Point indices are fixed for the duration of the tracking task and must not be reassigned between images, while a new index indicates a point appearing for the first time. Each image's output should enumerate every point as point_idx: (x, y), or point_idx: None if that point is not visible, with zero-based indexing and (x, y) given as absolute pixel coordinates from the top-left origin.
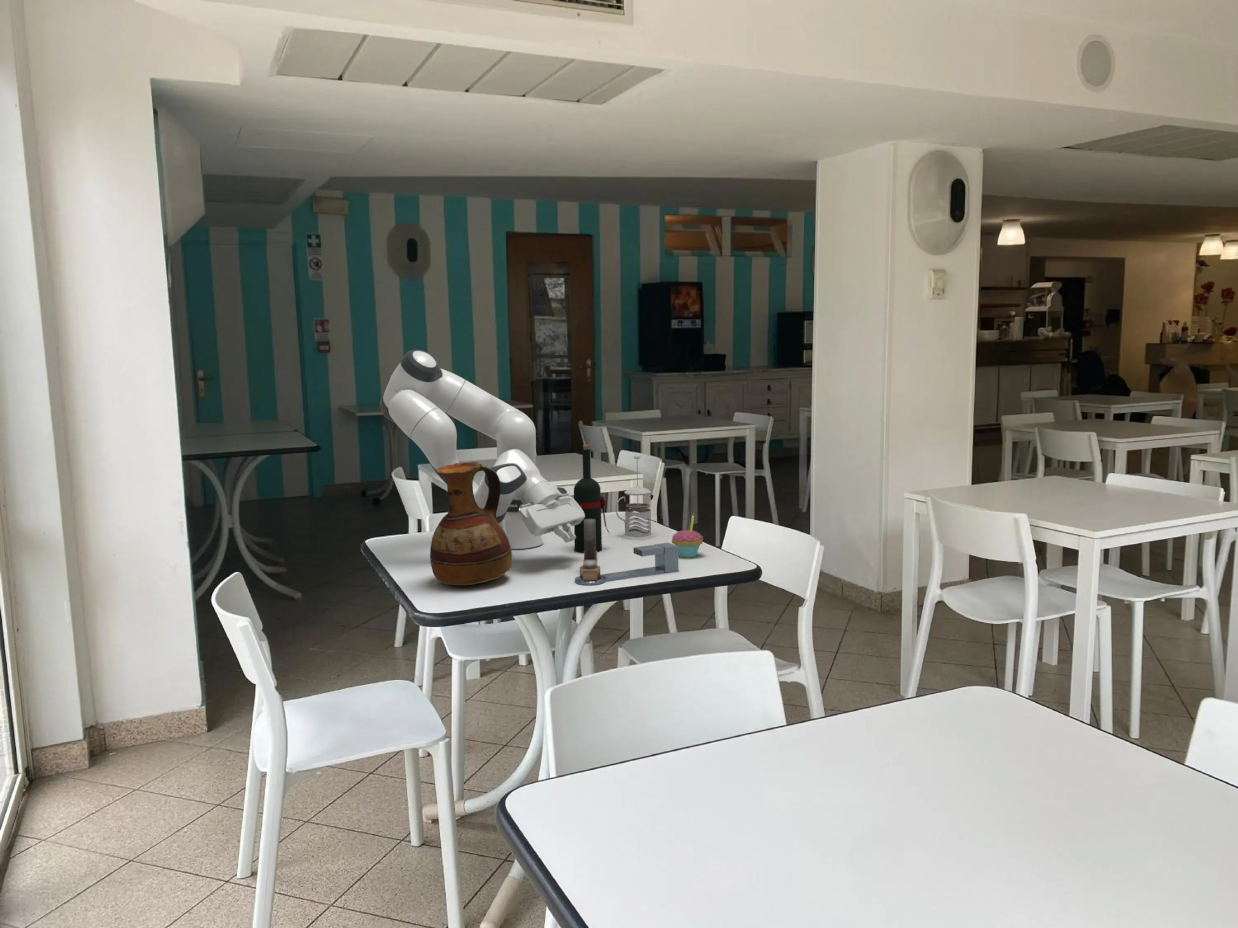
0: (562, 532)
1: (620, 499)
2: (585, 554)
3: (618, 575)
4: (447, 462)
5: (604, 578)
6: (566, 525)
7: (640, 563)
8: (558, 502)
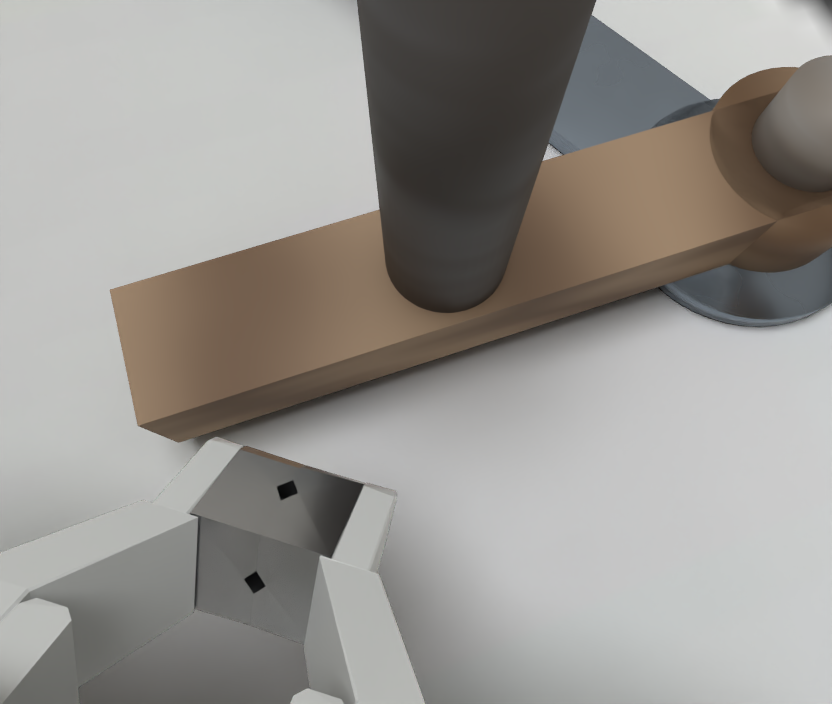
0: (397, 650)
1: None
2: (503, 268)
3: (583, 47)
4: None
5: (702, 109)
6: (37, 686)
7: (108, 40)
8: None
